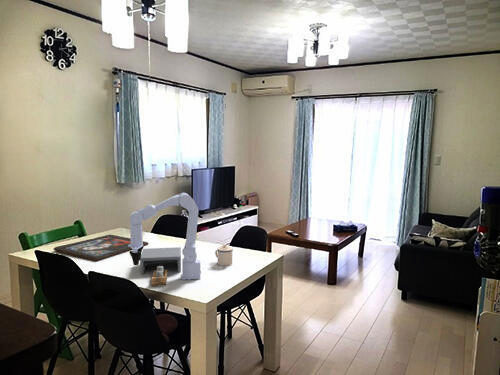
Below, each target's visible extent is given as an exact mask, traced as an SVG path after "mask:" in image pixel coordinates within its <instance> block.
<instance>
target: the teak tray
mask: <svg viewBox="0 0 500 375" xmlns="http://www.w3.org/2000/svg"><path fill="white" fill-rule="evenodd" d="M150 279H151V287H159V286H158V285H166V286H167V284H168V283H167V281H168V269H164V266H163V265H158V266H156V270H153V274H152V277H151V278H150ZM166 283H167V284H166Z"/></svg>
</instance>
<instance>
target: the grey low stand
mask: <svg viewBox="0 0 500 375" xmlns="http://www.w3.org/2000/svg"><path fill="white" fill-rule="evenodd" d="M181 249H182V248H181V246H180V247H179V246H177V247H157V248H156V247H154V248H153V247H152V248H143V249H142V253H141V259H140V260H139V266H140V267H139V269H140V270H139V271H140V272H139V273H140V275H144V274H143V273H145V269H146V266H147V265H152V264H155V265H156V264H177V273H182V258H181V257H182V250H181Z"/></svg>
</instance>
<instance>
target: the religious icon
mask: <svg viewBox="0 0 500 375" xmlns="http://www.w3.org/2000/svg"><path fill="white" fill-rule="evenodd" d="M129 244H131V238H130V237H126V236H119V235H115V234H107V235H102V236H97V237H93V238H89V239H85V240H81V241H77V242H72V243H67V244H64V245H63V244H62V245H59V246H55V247H53V249H52V250H53V251H54V252H58V253H62V254H65V255H70V256H71V258H75V257H77V258H81V259H85V260H89V261H92V262H99V261H104V260H106V259H109V258H113V257H115V256H118V255H121V254H124V253H128V252H130V251H133V249H132V248H131V247H128V245H129ZM148 245H149V242H147V241H144V240H143V246H144V247H147V246H148Z"/></svg>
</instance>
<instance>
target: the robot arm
mask: <svg viewBox="0 0 500 375" xmlns="http://www.w3.org/2000/svg"><path fill="white" fill-rule="evenodd" d="M171 206H176V207H179V206H181V207H182V208H184V209H186V210H187V211H188V216H187V217H188V218H187V226H186V227H187V229H186V238H185V242H184V247H183V249H182V250H181V254H182V255H183V258H182V259H181V280H183V281H186V279H187V280H200V279H201V274H202V271H201V259H197V252H196V248H197V247H196V239H197V230H198V229H197V228H198V220H199V219H198V218H199V207H198V206H197V204H196V201H195V199H194V198H192V197H191V195H189V194H188V193H186V192H181V193H179V194H175V195H173V196H171V197H169V198H167V199H165V200H163V201H161V202H159V203H157V204H155V205H154V204H146V206H144V207H142V208H141V209H137V211H133V212H131V214H130V215H129V221H130V224H129V225H130V228H129V231H130V232H129V233H130V237H129V238H131V244H129V245H128V247H131V248H132V249H133V250H131V251H128V252H129V255H130V257H131V258H132V264H133V266H139V265H140V259H141V254H142V251H143V249H144V247H145V246H143V241H144V240H143V238H144V237H143V226H142V222H143V221H146V220H149V219H150V218H152V217H154V216H157V214H158V212H159V211H162V210H164V209H166V208H169V207H171Z"/></svg>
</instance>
